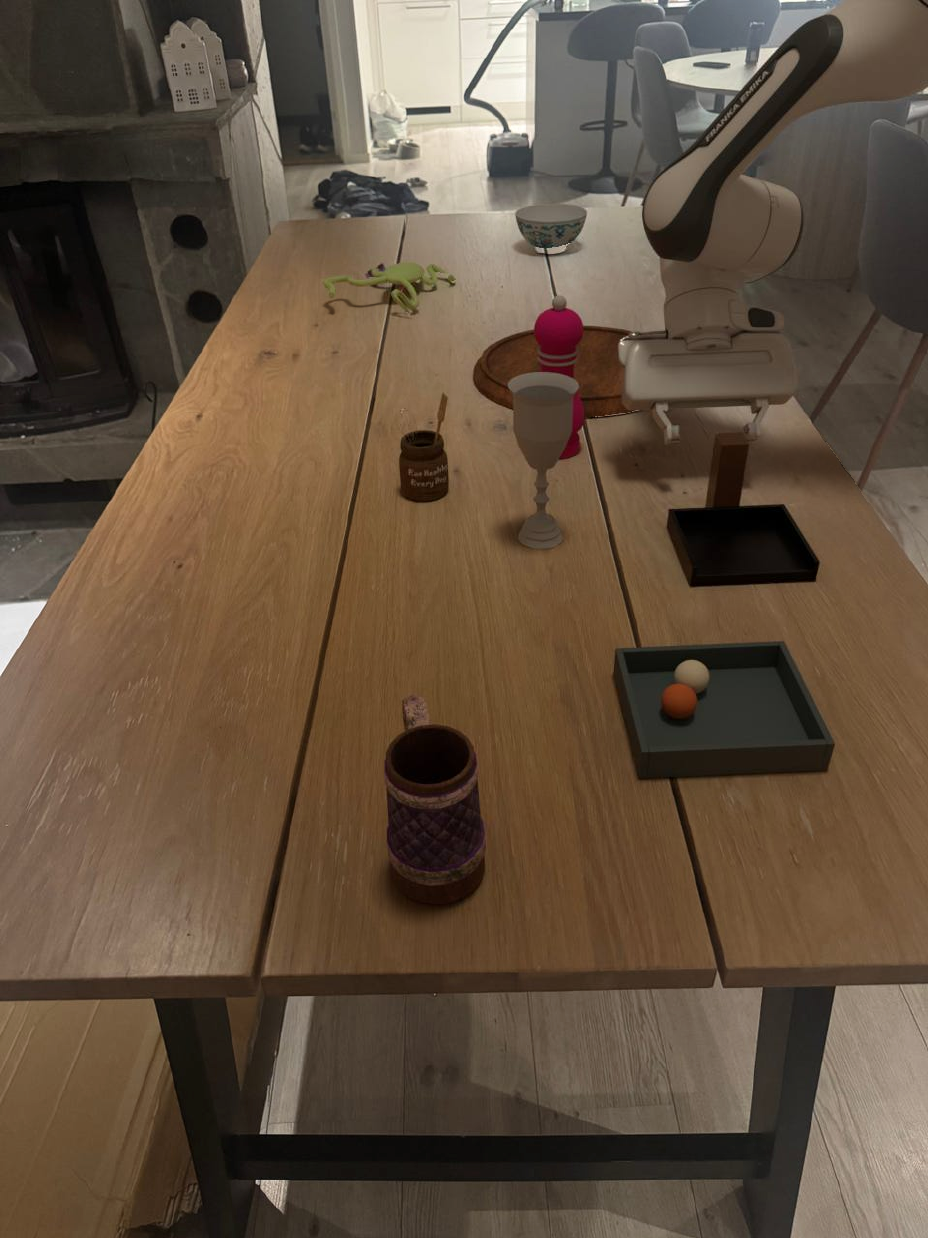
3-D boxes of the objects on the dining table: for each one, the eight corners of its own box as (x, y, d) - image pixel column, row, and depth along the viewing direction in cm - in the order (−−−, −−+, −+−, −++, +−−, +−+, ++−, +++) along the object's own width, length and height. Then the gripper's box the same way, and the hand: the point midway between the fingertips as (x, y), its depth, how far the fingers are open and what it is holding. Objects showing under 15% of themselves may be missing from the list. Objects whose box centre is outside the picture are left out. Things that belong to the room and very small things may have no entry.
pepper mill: (554, 466, 118) (558, 309, 106) (516, 448, 123) (516, 295, 111) (594, 449, 122) (602, 295, 110) (556, 431, 126) (560, 282, 114)
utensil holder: (394, 485, 116) (386, 394, 108) (442, 475, 117) (437, 385, 110) (409, 506, 111) (402, 413, 104) (458, 496, 113) (454, 403, 106)
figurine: (314, 313, 170) (310, 282, 167) (380, 272, 190) (378, 243, 186) (404, 324, 164) (401, 292, 160) (463, 280, 183) (462, 250, 180)
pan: (772, 509, 108) (787, 429, 102) (815, 581, 96) (835, 495, 90) (661, 513, 108) (669, 434, 102) (690, 586, 96) (701, 501, 90)
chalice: (582, 530, 105) (590, 379, 95) (556, 559, 101) (561, 403, 90) (525, 515, 108) (526, 367, 98) (497, 543, 104) (495, 390, 93)
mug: (496, 898, 66) (493, 779, 58) (396, 917, 65) (381, 798, 57) (468, 793, 74) (462, 678, 67) (379, 808, 73) (364, 692, 66)
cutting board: (446, 406, 134) (445, 390, 133) (504, 332, 159) (503, 317, 157) (669, 427, 126) (671, 410, 125) (694, 345, 150) (695, 330, 149)
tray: (778, 666, 85) (784, 640, 83) (827, 770, 74) (835, 743, 73) (613, 673, 85) (615, 648, 83) (638, 779, 74) (641, 752, 73)
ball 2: (659, 704, 81) (678, 676, 80) (688, 725, 80) (707, 696, 79) (650, 705, 78) (669, 676, 78) (679, 727, 77) (699, 697, 76)
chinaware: (550, 237, 207) (551, 200, 202) (600, 249, 198) (602, 210, 193) (500, 250, 200) (500, 212, 195) (549, 264, 190) (550, 224, 186)
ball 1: (661, 678, 82) (681, 677, 79) (680, 653, 83) (700, 651, 80) (682, 701, 82) (703, 701, 80) (701, 676, 83) (722, 675, 81)
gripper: (620, 320, 107) (628, 435, 105) (797, 313, 107) (808, 427, 105) (611, 344, 113) (619, 453, 111) (778, 337, 113) (789, 446, 111)
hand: (712, 441), depth 108 cm, fingers open, 8 cm apart
